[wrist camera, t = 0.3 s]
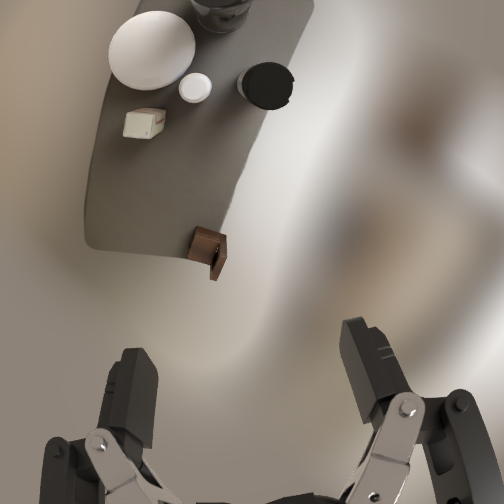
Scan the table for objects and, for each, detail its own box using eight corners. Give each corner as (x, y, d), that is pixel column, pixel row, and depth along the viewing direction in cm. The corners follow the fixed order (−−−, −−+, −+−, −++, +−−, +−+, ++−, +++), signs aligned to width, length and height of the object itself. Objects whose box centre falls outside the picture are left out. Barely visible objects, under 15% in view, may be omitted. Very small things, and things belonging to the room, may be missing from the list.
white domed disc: (196, 2, 34) (193, 10, 39) (103, 17, 30) (111, 23, 36) (198, 84, 43) (195, 83, 48) (108, 99, 40) (115, 96, 45)
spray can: (275, 72, 47) (302, 67, 31) (267, 104, 51) (289, 116, 34) (241, 64, 46) (249, 55, 29) (233, 97, 49) (237, 104, 33)
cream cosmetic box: (167, 109, 49) (155, 114, 41) (163, 130, 52) (151, 140, 43) (141, 106, 48) (125, 111, 40) (138, 127, 51) (122, 137, 42)
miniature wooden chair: (196, 225, 64) (193, 247, 56) (226, 235, 66) (227, 257, 58) (188, 248, 67) (184, 272, 59) (216, 257, 69) (216, 281, 61)
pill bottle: (183, 101, 49) (175, 105, 41) (183, 74, 46) (175, 73, 38) (212, 100, 49) (210, 103, 41) (212, 73, 46) (210, 71, 38)
